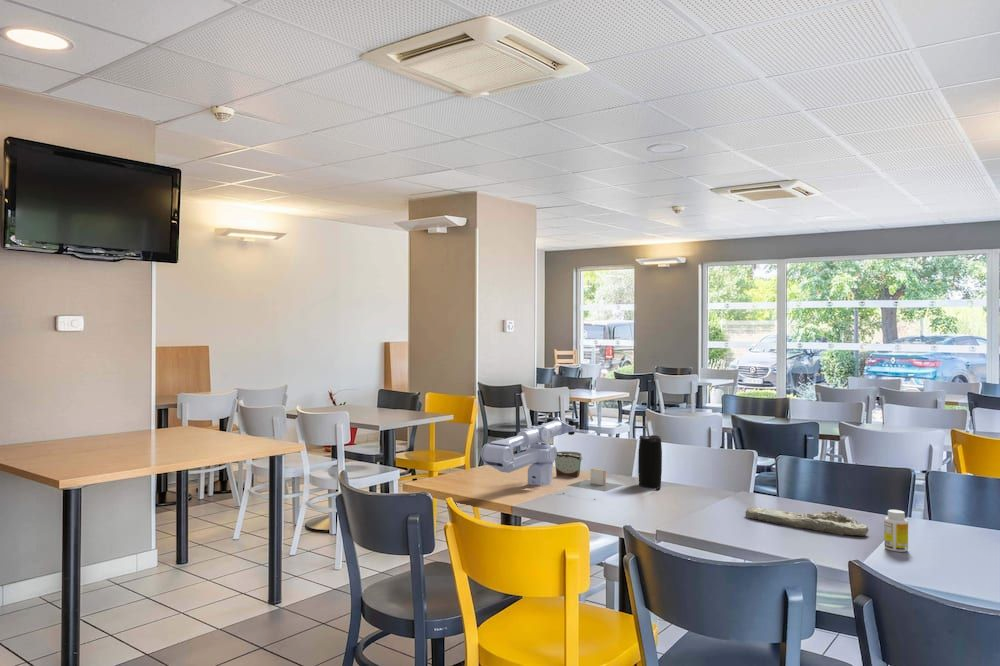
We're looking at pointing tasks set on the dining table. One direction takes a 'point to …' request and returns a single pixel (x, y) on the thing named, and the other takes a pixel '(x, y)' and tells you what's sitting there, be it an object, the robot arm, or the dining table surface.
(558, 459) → the food container
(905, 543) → the supplement bottle
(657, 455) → the portable speaker
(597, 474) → the tile
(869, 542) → the dining table surface
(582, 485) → the slate board
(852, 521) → the long grey stone
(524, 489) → the dining table surface
